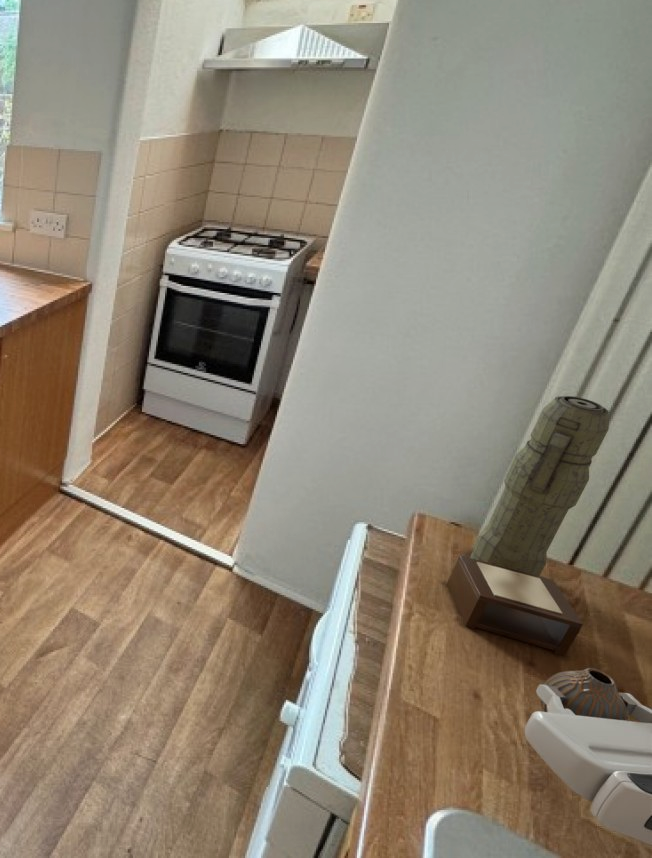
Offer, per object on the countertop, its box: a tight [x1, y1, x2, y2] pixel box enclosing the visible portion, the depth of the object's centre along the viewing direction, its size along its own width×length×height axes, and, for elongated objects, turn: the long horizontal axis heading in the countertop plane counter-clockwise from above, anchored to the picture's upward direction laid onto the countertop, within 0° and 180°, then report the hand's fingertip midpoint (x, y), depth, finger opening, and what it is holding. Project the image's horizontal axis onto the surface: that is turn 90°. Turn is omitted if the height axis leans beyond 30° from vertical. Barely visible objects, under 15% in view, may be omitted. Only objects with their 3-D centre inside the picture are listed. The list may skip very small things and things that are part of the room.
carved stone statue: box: [469, 395, 610, 576], centre depth 102 cm, size 9×12×35 cm
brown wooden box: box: [446, 554, 584, 657], centre depth 98 cm, size 12×10×7 cm
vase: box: [539, 667, 629, 721], centre depth 73 cm, size 7×7×9 cm
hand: (580, 691), depth 73 cm, fingers closed on vase, 7 cm apart
